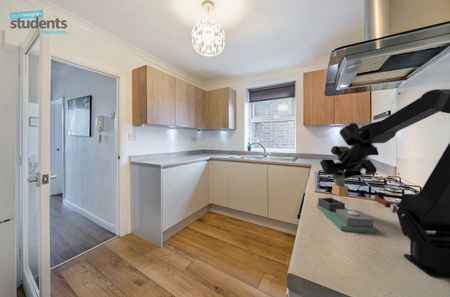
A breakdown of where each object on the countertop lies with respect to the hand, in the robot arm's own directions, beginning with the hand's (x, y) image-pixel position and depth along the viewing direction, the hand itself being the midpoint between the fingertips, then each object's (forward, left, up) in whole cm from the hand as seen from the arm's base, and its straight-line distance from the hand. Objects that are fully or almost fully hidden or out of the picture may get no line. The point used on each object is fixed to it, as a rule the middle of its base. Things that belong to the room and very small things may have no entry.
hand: (337, 178), depth 72 cm
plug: (-1, 0, -7) cm, 7 cm away
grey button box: (-15, +2, -12) cm, 19 cm away
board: (-9, +3, -13) cm, 16 cm away
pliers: (+9, -26, -14) cm, 31 cm away
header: (-3, +4, -12) cm, 13 cm away
